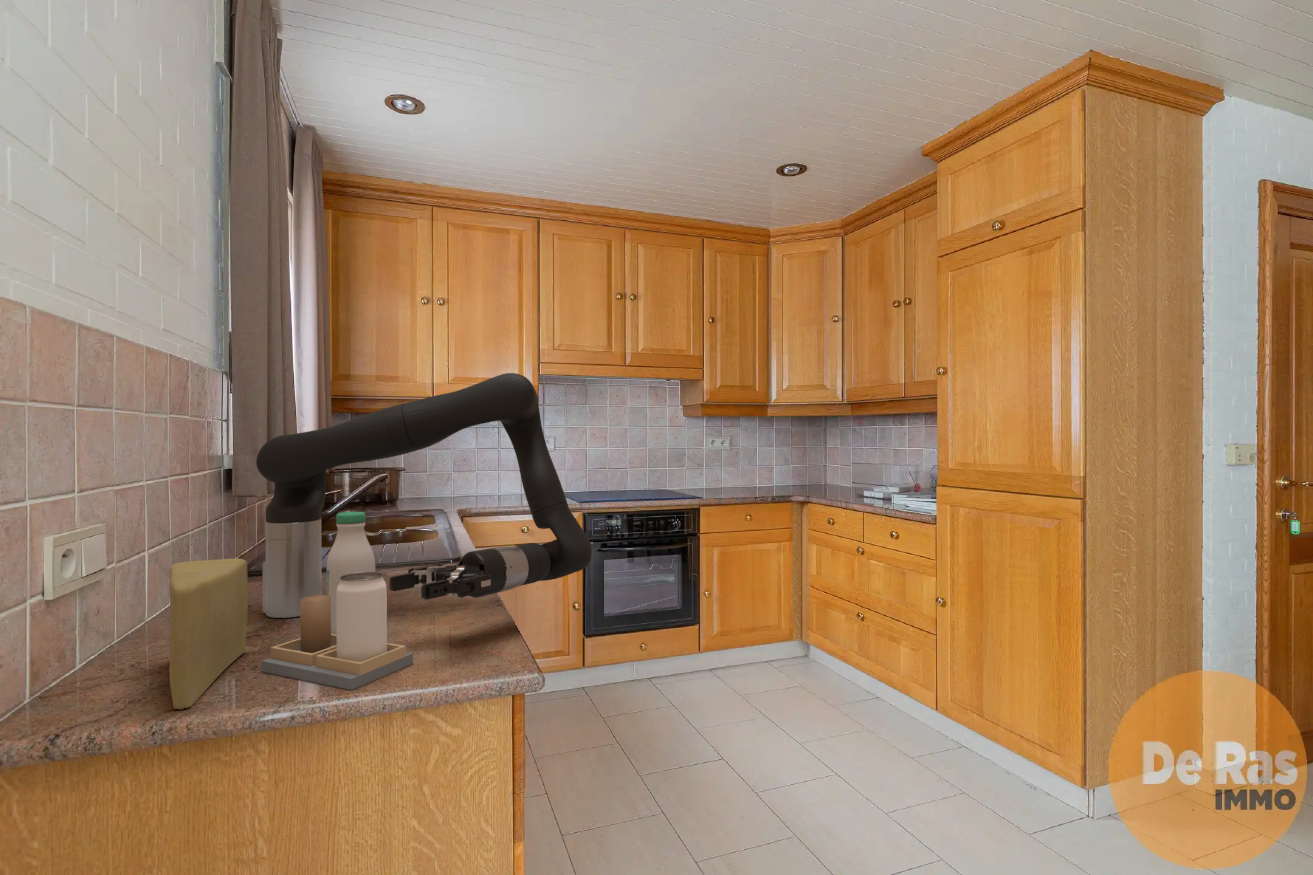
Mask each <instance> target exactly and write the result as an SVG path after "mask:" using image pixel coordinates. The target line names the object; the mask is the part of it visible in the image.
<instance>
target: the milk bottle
mask: <svg viewBox="0 0 1313 875" xmlns="http://www.w3.org/2000/svg"><path fill="white" fill-rule="evenodd" d="M366 517H367V515H366V513H365V512H364V511H346V512H345V511H343V512H338V513H337V514H336V515H335V521H336V524H335V526H336V527H337V531H336V532H337V533H336V536H335V540H334V542H333V545H332V546H331V548H330V551H329V553H328V556H327V561H326V574H325V575H326V576H325V577H326V578H325V580H326V581H325V595H329V596H331V634H336V635H337V626H336V594H337V587H338V585H339V583H340V577H341V576H343V575H346V574H351V573H357V572H376V558H375V554H374V551H373V548H372V547H371V544H370V543H369V540H368V538H367V534H366V532H365V531H366V530H365V526H366V519H367V518H366Z"/></svg>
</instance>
